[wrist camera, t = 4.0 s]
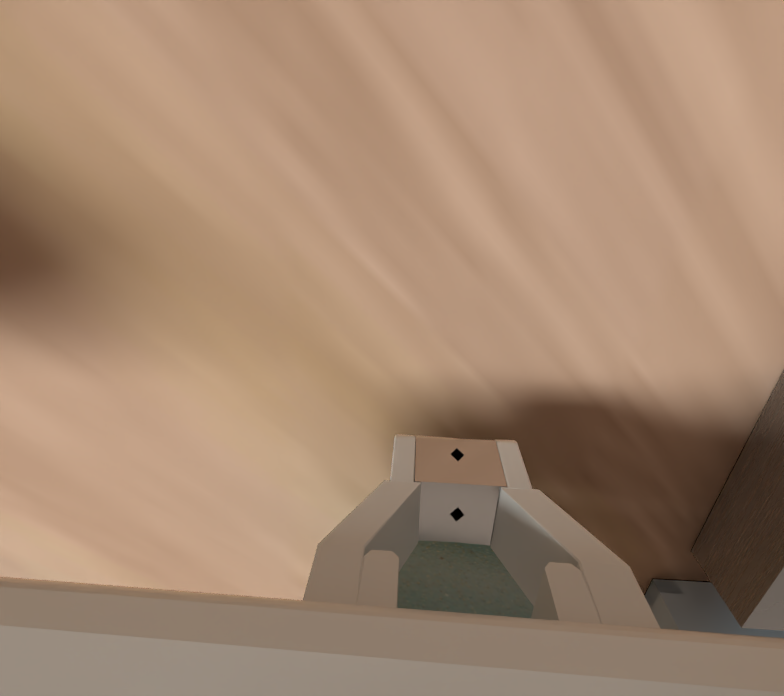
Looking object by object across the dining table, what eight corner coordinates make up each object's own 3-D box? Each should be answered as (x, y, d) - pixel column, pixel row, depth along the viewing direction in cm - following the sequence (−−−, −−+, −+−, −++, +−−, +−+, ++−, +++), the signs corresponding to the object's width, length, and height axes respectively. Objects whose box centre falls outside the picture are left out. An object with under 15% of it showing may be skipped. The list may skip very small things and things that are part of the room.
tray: (652, 579, 18) (685, 641, 16) (919, 594, 17) (993, 662, 15) (596, 698, 23) (615, 757, 21) (800, 713, 22) (842, 777, 20)
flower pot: (356, 453, 16) (286, 775, 8) (574, 492, 16) (728, 848, 8) (333, 585, 20) (272, 885, 12) (506, 615, 20) (563, 931, 12)
